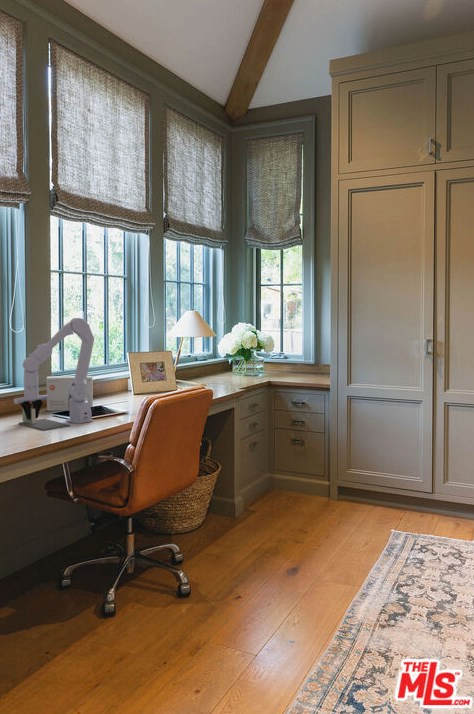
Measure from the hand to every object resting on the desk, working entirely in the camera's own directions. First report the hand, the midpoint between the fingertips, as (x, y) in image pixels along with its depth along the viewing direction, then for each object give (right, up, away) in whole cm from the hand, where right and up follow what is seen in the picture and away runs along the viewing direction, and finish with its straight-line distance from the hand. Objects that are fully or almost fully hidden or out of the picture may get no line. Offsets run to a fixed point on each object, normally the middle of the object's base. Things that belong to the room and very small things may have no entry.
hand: (32, 418), depth 251 cm
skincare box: (+6, 0, +37) cm, 37 cm away
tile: (-2, -2, +2) cm, 3 cm away
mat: (+5, -3, -1) cm, 6 cm away
